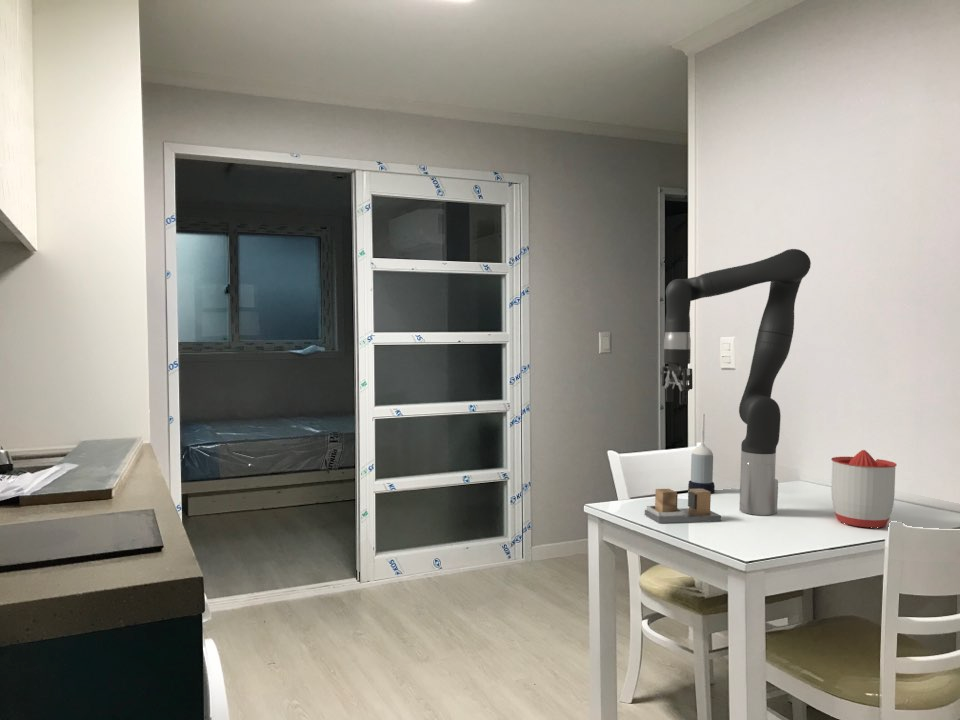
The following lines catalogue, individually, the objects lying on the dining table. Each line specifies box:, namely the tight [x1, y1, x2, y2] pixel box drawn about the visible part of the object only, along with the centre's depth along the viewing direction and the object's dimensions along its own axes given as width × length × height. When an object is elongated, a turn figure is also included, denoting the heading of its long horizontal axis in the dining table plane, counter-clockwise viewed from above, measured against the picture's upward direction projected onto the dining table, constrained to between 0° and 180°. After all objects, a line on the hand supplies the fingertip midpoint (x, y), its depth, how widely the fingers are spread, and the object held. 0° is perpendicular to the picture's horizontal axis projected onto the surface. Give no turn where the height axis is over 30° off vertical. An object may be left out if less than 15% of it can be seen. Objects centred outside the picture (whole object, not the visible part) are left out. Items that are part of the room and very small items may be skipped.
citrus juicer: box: [830, 449, 897, 529], centre depth 196 cm, size 16×17×20 cm
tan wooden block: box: [654, 488, 678, 512], centre depth 196 cm, size 4×4×6 cm
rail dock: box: [644, 489, 722, 524], centre depth 197 cm, size 18×9×8 cm, turn 101°
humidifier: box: [687, 413, 715, 495], centre depth 233 cm, size 8×8×25 cm
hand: (676, 402), depth 212 cm, fingers open, 8 cm apart
